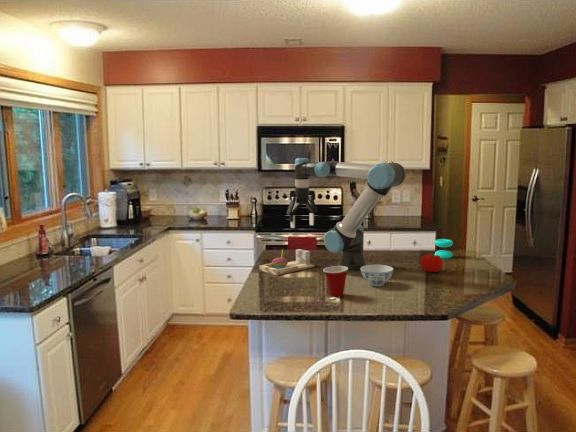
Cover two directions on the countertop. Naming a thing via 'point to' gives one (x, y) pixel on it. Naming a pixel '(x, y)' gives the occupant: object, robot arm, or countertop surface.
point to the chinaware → (376, 274)
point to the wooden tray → (290, 264)
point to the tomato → (431, 263)
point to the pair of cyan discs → (443, 253)
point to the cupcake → (279, 262)
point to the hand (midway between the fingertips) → (302, 226)
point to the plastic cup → (336, 279)
